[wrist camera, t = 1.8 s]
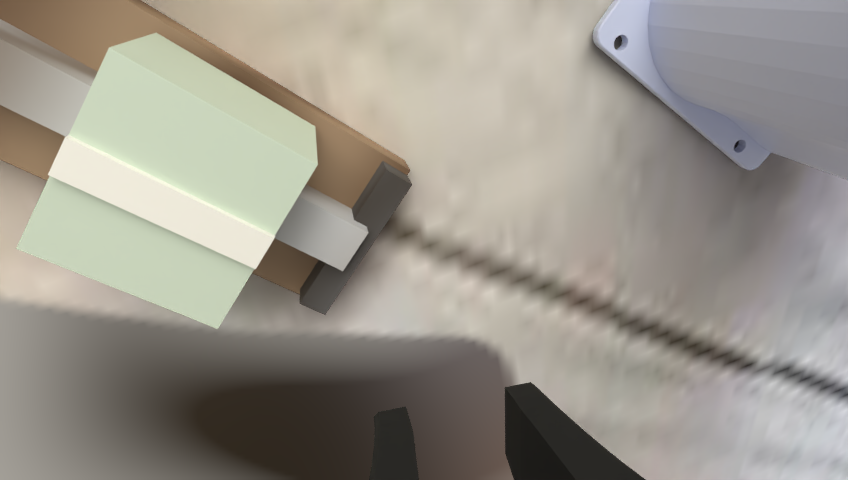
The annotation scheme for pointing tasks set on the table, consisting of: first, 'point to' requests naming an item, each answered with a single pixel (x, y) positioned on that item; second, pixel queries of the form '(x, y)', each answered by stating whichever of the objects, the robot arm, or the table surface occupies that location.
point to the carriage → (171, 181)
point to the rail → (131, 18)
